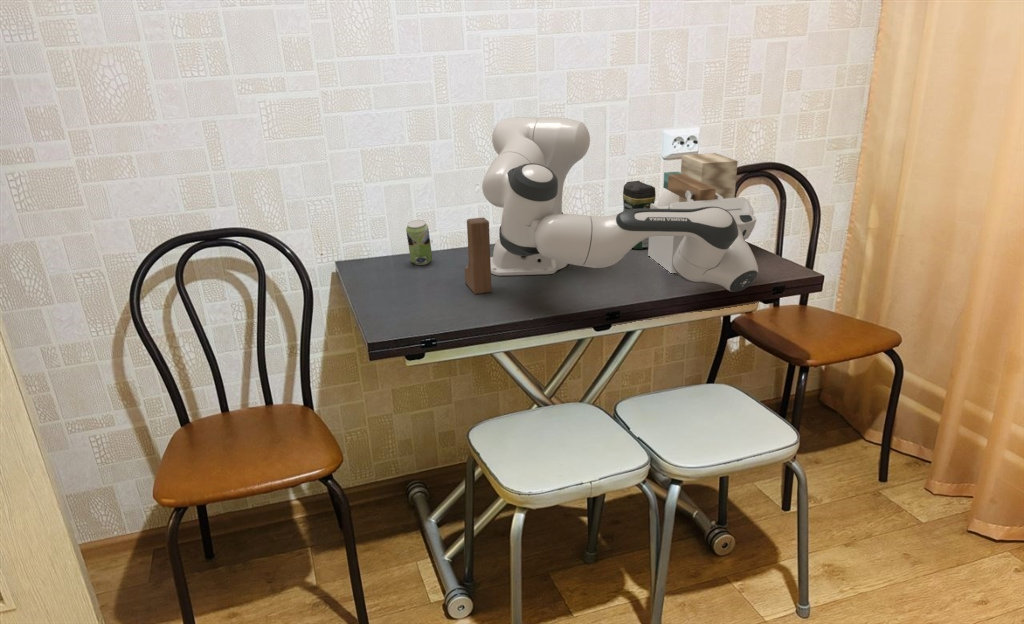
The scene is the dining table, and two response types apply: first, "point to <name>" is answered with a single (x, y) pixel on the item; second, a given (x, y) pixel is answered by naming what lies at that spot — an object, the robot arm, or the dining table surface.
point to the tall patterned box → (711, 172)
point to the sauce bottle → (667, 198)
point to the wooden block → (478, 256)
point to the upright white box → (663, 247)
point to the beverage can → (419, 242)
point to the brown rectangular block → (687, 186)
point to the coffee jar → (638, 201)
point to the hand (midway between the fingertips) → (698, 191)
